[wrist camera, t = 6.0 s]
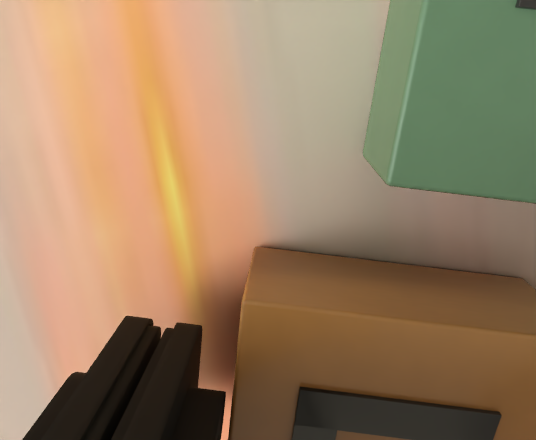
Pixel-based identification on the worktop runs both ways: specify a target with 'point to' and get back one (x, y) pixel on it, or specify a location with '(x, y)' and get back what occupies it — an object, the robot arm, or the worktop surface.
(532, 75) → the sage letter tile
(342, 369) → the oak letter tile
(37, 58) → the worktop surface
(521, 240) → the worktop surface
